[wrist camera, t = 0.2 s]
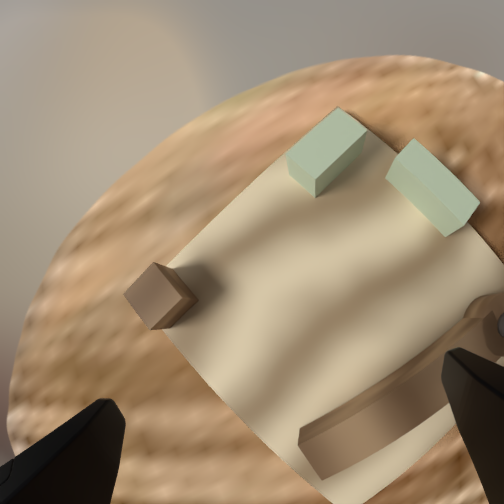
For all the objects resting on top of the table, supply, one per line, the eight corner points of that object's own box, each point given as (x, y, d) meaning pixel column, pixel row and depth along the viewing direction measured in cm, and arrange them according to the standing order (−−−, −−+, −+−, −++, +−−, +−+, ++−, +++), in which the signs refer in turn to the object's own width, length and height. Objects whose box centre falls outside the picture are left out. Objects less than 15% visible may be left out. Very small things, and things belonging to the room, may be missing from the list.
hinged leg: (490, 284, 18) (517, 278, 14) (512, 328, 17) (540, 329, 13) (295, 422, 19) (292, 442, 15) (324, 465, 18) (325, 490, 14)
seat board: (530, 313, 18) (560, 311, 14) (345, 506, 18) (349, 536, 14) (337, 114, 24) (339, 82, 20) (144, 297, 24) (114, 293, 20)
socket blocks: (460, 216, 19) (480, 202, 16) (404, 286, 19) (419, 281, 16) (351, 117, 22) (355, 92, 19) (289, 174, 22) (285, 153, 19)
